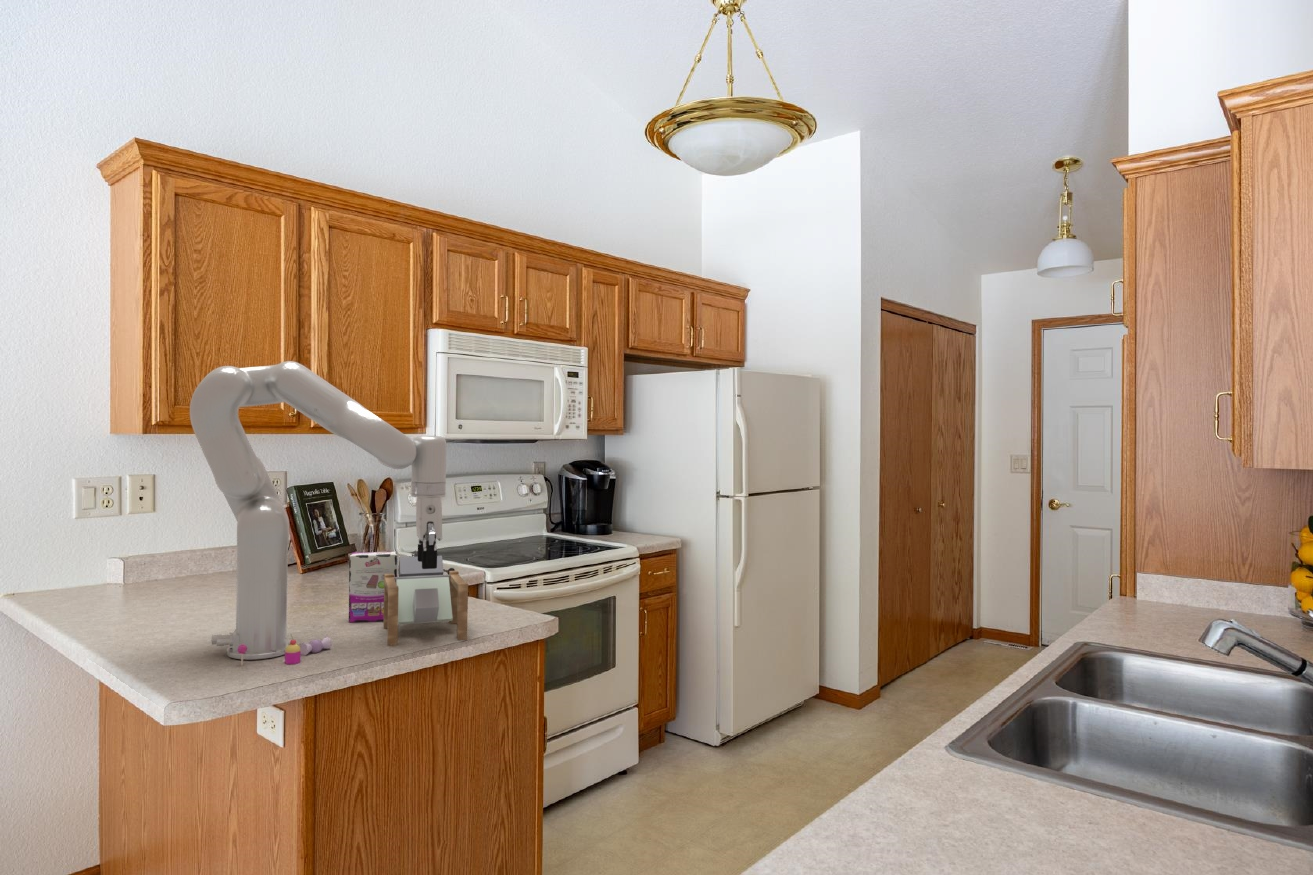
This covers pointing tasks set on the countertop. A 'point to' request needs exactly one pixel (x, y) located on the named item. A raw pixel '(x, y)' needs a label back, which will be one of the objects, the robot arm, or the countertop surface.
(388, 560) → the candy bar box
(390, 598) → the frame
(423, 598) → the light gray block
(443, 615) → the trapdoor
